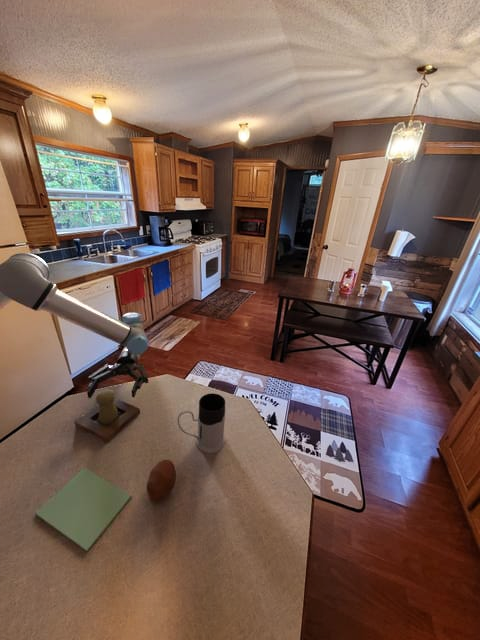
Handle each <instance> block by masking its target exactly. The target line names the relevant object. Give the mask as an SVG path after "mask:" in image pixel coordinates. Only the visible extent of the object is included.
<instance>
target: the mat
mask: <svg viewBox="0 0 480 640" xmlns="http://www.w3.org/2000/svg"><path fill="white" fill-rule="evenodd" d="M132 497H133V495H132V494H131V493H129V492H127V491H126V490H124V489H122V488H121V487H118V486H117V485H116V484H113V483H112V482H110V481H108V480H107V479H105V478H104V477H101V476H100V475H98V474H97V473H94V472H92V471H91V470H89V469H87V468H85V467H83V468H82V469H81V470H80V471H79V472H78V473H76V475H75V476H74V477H73V478H72V479H70V480H69V481H68V482H67V483H65V485H64V486H63V487H62V488H60V489H59V491H57V492H56V493H55V494H54V495H53V496H51V498H49V499H48V500H47V501H46V502H45V503H44V504H43V505H42V506H41V507H40V508H39V509H37V510H36V512H34V514H35V516H37V517H38V518H40V520H42V521H44V522H45V523H46V524H47V525H49V526H51V527H52V528H53V529H55V530H56V531H57V532H58V533H60V534H61V535H63V536H64V537H66V538H67V539H68V540H70V541H71V542H72V543H73V544H75V545H77V546H78V547H79V548H81V549H82V550H83V551H85V552H86V553H88V552H89V551H90V550H91V548H92V547H93V546H94V544H95V543H96V542H97V541H98V539H99V538H100V537H102V535H103V534H104V532H105V531H106V529H108V527H109V526H110V524H111V523H112V522H113V521H114V520H115V518H116V517H117V516H118V515H119V513H120V512H121V510H123V508H124V507H125V506H126V505H127V503H128V502H129V501H130V500H131V499H132Z"/></svg>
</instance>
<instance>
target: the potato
mask: <svg viewBox="0 0 480 640" xmlns="http://www.w3.org/2000/svg"><path fill="white" fill-rule="evenodd" d="M176 482H177V470H176V466H175V464H174V462H173V460H170V459H168V458H167V459H162V460H160V461H159V462H158V463H157V464H156V465H155V466H154V467H153V468H152V469H151V470H150V472H149V476H148V480H147V482H146V491H147V495H148V498H149V499H150V500H151V501H152V502H154V503H158V502H159V503H160V502H161V501H163V500H165V499H166V498H167V497H168V496H169V495H170V494H171V493H172V491H173V489H174V487H175V485H176Z"/></svg>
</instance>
